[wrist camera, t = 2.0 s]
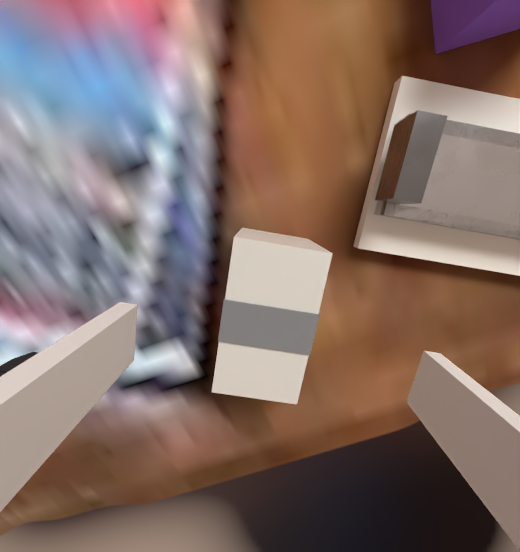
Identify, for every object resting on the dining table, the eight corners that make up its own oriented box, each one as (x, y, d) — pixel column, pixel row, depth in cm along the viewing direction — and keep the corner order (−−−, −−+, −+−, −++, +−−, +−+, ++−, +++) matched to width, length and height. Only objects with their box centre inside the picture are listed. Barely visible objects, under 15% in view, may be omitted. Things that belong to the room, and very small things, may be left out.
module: (225, 336, 22) (210, 393, 15) (241, 227, 20) (232, 236, 13) (285, 345, 22) (297, 405, 15) (308, 238, 20) (334, 253, 13)
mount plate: (353, 246, 20) (357, 248, 19) (394, 82, 18) (402, 75, 17) (574, 283, 21) (589, 287, 20) (645, 132, 18) (666, 128, 17)
